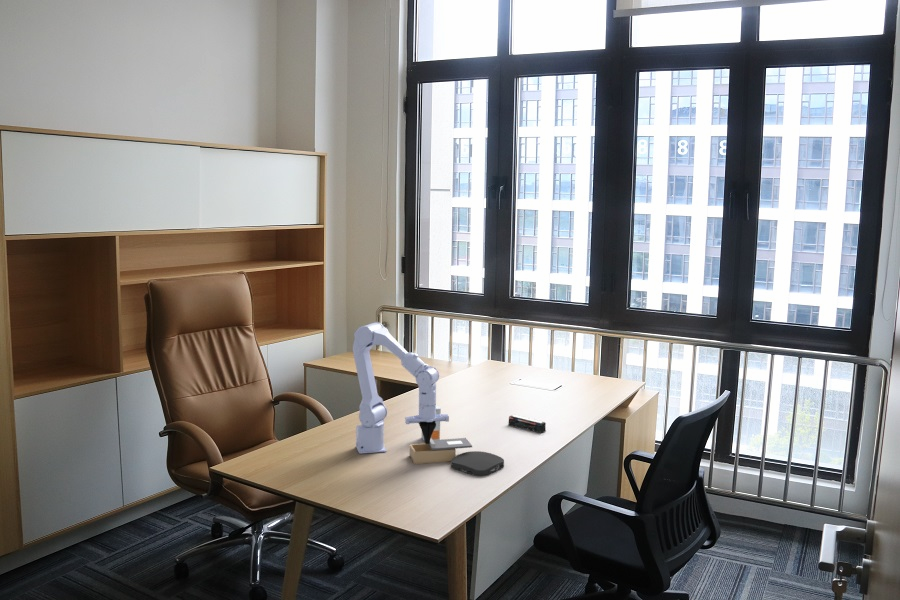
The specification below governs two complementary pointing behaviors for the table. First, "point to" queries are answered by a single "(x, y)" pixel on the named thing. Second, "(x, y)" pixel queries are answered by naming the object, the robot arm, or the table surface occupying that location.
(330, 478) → the table surface
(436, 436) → the skincare box
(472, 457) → the media streaming box
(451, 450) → the box
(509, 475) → the table surface
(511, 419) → the graphics card
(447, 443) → the lid
